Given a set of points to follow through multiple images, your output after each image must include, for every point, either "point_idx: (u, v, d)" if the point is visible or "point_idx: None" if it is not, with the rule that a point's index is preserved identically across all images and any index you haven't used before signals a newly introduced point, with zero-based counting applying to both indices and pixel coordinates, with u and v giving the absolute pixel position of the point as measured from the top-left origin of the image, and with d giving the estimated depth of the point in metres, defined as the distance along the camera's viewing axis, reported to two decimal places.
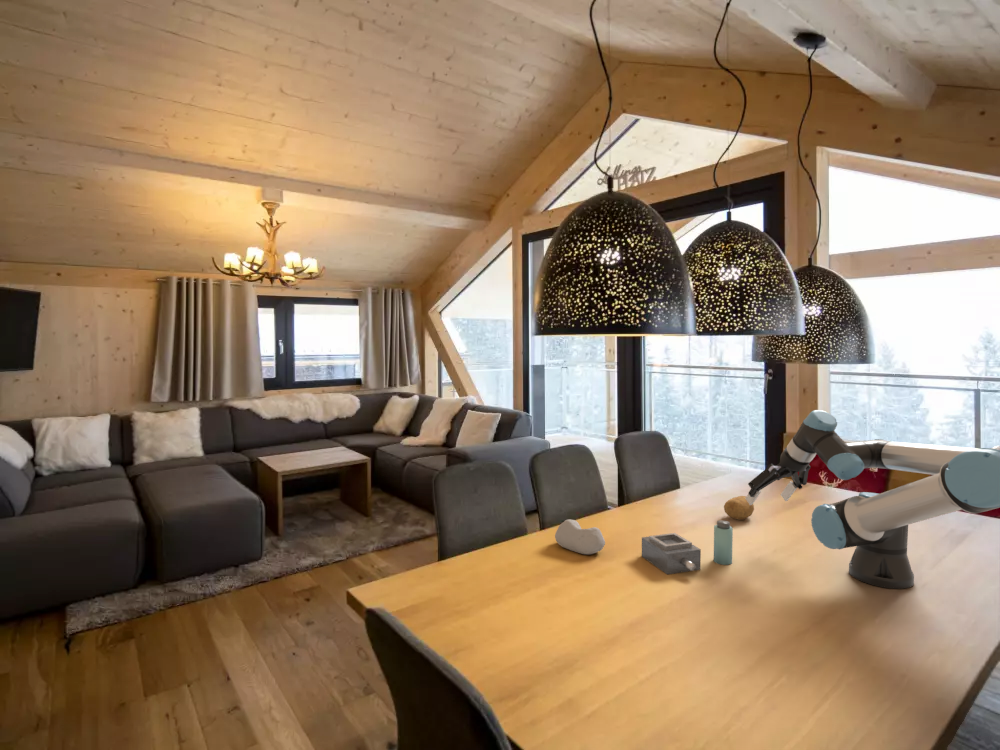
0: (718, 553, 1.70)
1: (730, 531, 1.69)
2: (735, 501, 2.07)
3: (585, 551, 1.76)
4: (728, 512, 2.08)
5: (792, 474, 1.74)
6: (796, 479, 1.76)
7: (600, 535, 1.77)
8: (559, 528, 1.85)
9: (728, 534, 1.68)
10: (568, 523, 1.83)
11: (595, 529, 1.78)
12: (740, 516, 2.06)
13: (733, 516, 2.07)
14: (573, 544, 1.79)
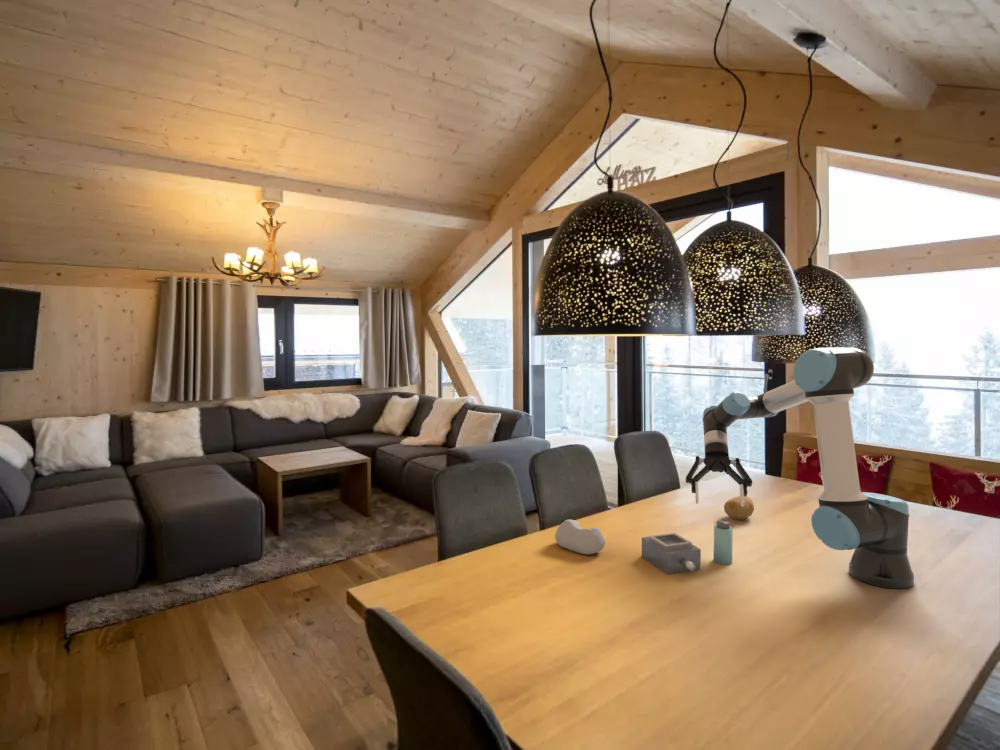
0: (718, 553, 1.70)
1: (730, 531, 1.69)
2: (735, 501, 2.07)
3: (585, 551, 1.76)
4: (728, 512, 2.08)
5: (723, 465, 1.88)
6: (733, 472, 1.85)
7: (600, 535, 1.77)
8: (559, 528, 1.85)
9: (728, 534, 1.68)
10: (568, 523, 1.83)
11: (595, 529, 1.79)
12: (740, 516, 2.06)
13: (733, 516, 2.07)
14: (574, 544, 1.79)
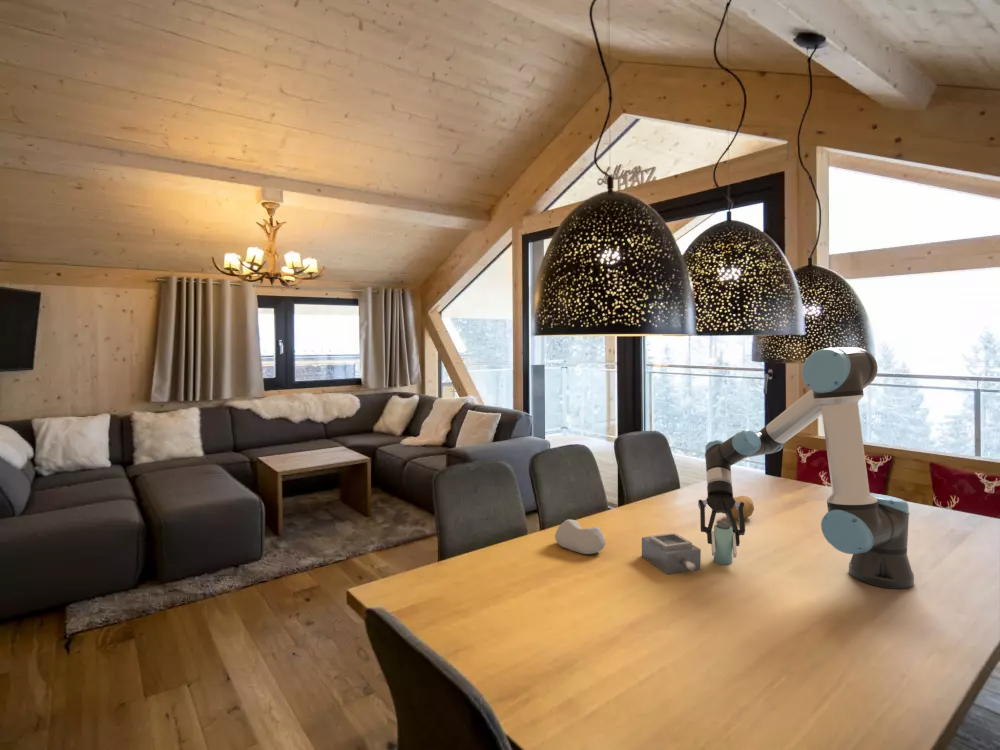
0: (717, 553, 1.70)
1: (730, 531, 1.69)
2: (735, 501, 2.07)
3: (586, 551, 1.76)
4: None
5: (724, 506, 1.76)
6: (731, 517, 1.74)
7: (601, 535, 1.78)
8: (559, 528, 1.85)
9: (728, 534, 1.68)
10: (568, 523, 1.83)
11: (596, 529, 1.79)
12: None
13: (733, 516, 2.07)
14: (574, 544, 1.79)
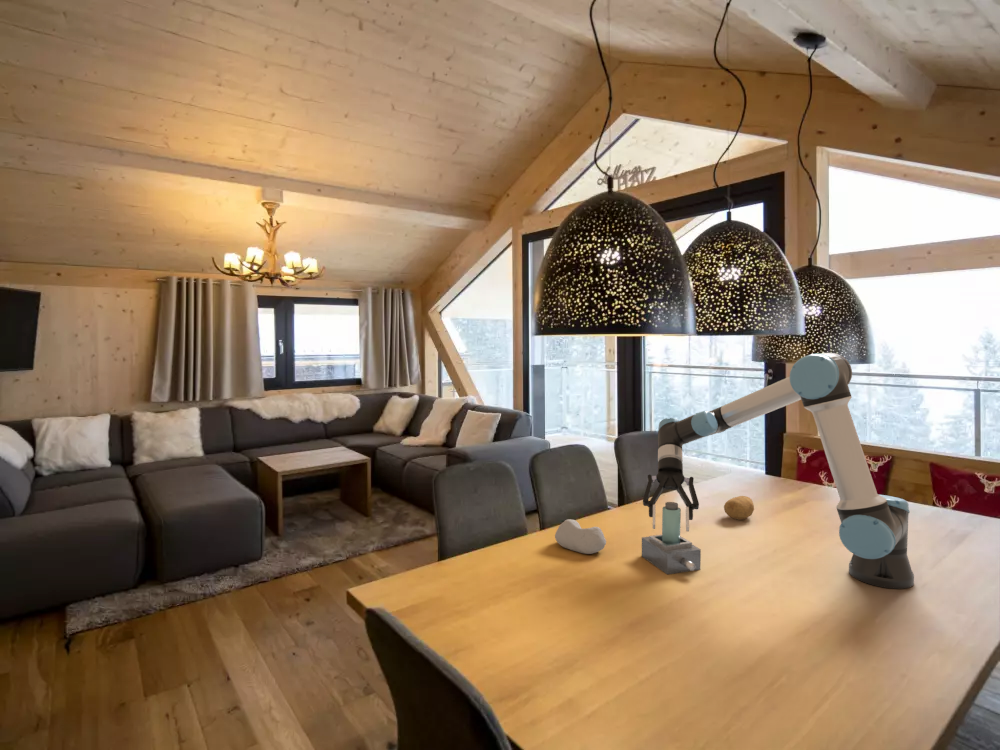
0: (665, 534, 1.69)
1: (678, 512, 1.68)
2: (735, 501, 2.07)
3: (587, 550, 1.77)
4: (728, 512, 2.08)
5: (674, 483, 1.75)
6: (682, 492, 1.72)
7: (601, 534, 1.78)
8: (559, 528, 1.85)
9: (676, 515, 1.68)
10: (569, 523, 1.83)
11: (596, 528, 1.79)
12: (740, 516, 2.06)
13: (733, 516, 2.07)
14: (575, 544, 1.79)
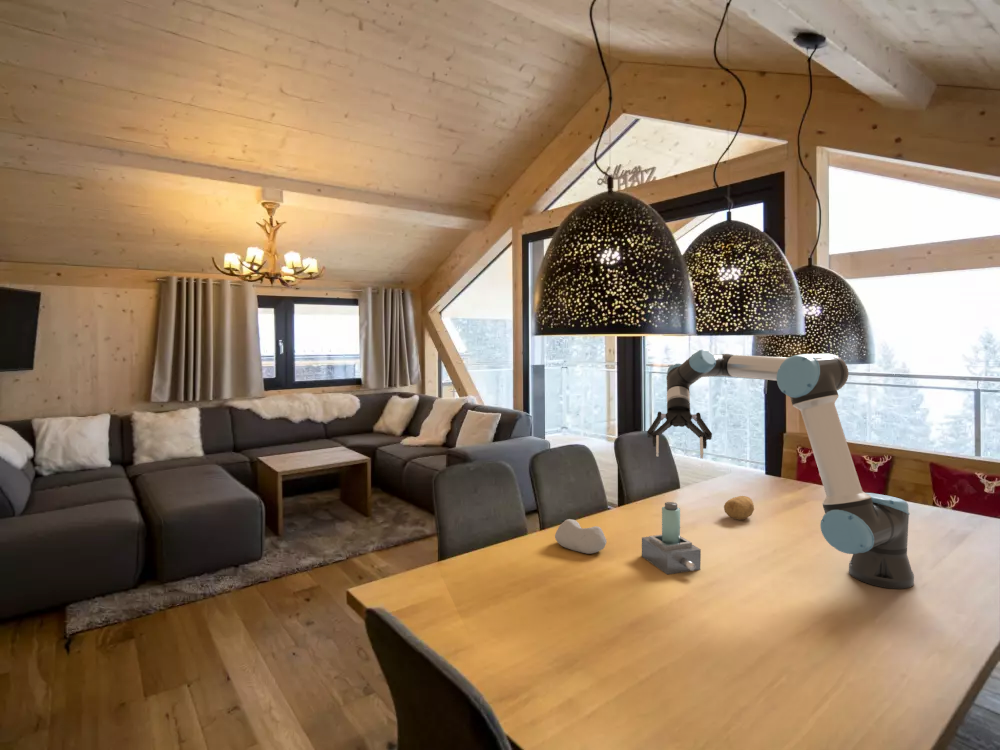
0: (665, 534, 1.69)
1: (677, 512, 1.68)
2: (735, 501, 2.07)
3: (588, 550, 1.77)
4: (728, 512, 2.08)
5: (684, 420, 1.90)
6: (693, 426, 1.87)
7: (602, 534, 1.78)
8: (559, 528, 1.85)
9: (675, 515, 1.68)
10: (569, 523, 1.84)
11: (597, 528, 1.79)
12: (740, 516, 2.06)
13: (733, 516, 2.07)
14: (576, 544, 1.79)
